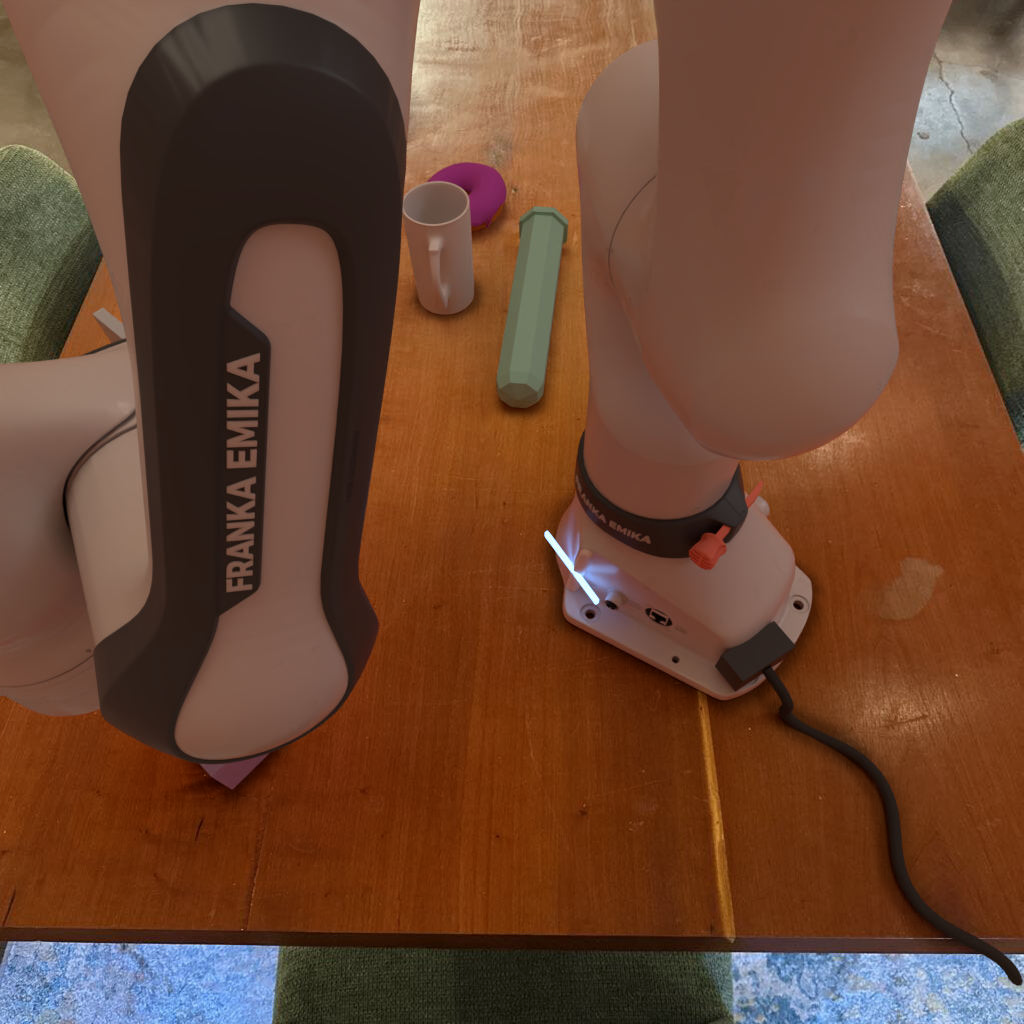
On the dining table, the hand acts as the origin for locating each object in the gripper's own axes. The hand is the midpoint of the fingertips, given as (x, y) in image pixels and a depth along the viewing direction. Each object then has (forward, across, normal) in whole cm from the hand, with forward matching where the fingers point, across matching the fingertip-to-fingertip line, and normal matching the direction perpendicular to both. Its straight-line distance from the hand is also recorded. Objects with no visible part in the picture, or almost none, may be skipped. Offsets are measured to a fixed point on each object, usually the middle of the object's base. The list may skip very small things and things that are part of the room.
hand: (179, 704), depth 50 cm
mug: (+11, -6, -50) cm, 51 cm away
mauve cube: (+11, 0, 0) cm, 11 cm away
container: (+11, -16, -49) cm, 52 cm away
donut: (+11, -5, -66) cm, 67 cm away
